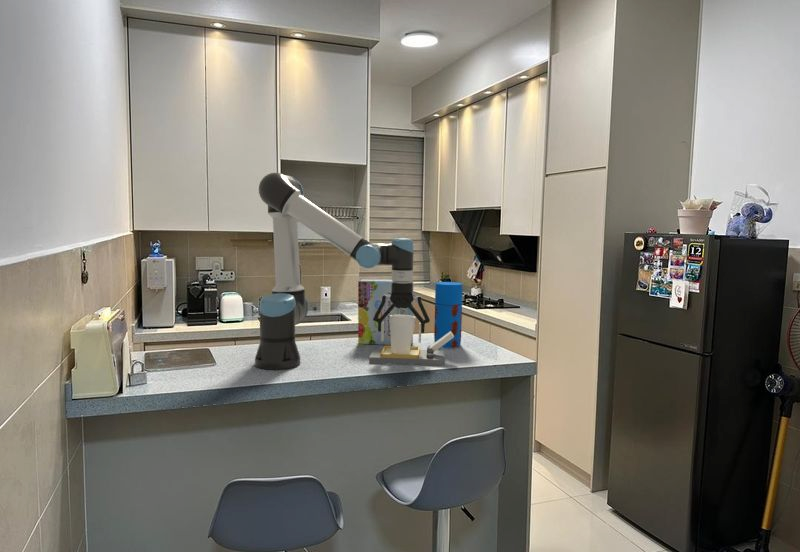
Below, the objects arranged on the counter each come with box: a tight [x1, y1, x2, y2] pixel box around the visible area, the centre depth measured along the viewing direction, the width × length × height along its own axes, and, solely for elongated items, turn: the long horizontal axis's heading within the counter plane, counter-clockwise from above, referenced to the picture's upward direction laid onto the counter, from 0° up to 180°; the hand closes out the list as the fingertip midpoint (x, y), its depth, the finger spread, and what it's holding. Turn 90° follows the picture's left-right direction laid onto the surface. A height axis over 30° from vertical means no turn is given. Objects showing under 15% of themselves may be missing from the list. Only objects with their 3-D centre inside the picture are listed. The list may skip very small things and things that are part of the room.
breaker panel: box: [368, 345, 445, 367], centre depth 193 cm, size 26×14×3 cm, turn 86°
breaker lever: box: [426, 331, 454, 354], centre depth 192 cm, size 2×5×11 cm
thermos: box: [433, 281, 464, 349], centre depth 216 cm, size 11×11×25 cm
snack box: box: [357, 279, 414, 346], centre depth 218 cm, size 22×9×26 cm, turn 82°
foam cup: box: [389, 315, 417, 354], centre depth 193 cm, size 10×9×13 cm
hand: (401, 341), depth 193 cm, fingers open, 13 cm apart
